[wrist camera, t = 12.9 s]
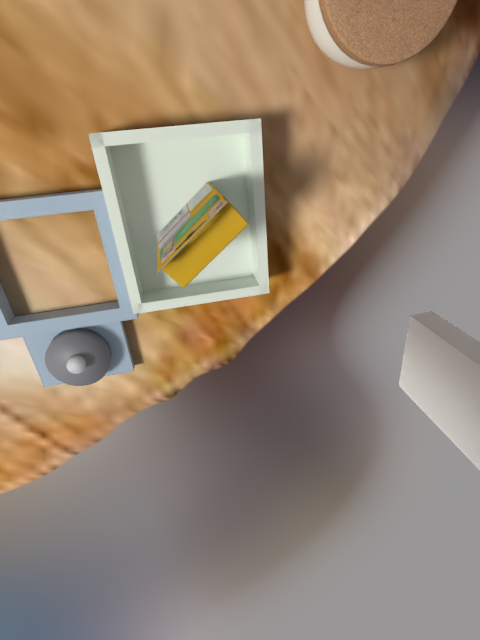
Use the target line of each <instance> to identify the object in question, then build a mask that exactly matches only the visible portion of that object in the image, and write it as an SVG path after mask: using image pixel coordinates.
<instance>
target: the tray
mask: <svg viewBox="0 0 480 640" xmlns="http://www.w3.org/2000/svg"><path fill="white" fill-rule="evenodd" d="M89 138H90V142H91V146H92V150H93V154H94V158H95V162H96V166H97V170H98V174H99V178H100V182H101V186H102V190H103V194H104V198H105V203H106V207H107V211H108V215H109V219H110V223H111V227H112V231H113V235H114V239H115V243H116V247H117V251H118V255H119V259H120V263H121V267H122V271H123V275H124V279H125V283H126V287H127V291H128V295H129V299H130V303H131V307H132V311H133V314H138V313H144V312H151V311H157V310H164V309H170V308H177V307H183V306H189V305H196V304H202V303H209V302H215V301H222V300H228V299H234V298H241V297H247V296H254V295H260V294H267V293H269V276H268V255H267V233H266V212H265V191H264V170H263V149H262V127H261V118H258V119H247V120H236V121H225V122H213V123H202V124H191V125H180V126H168V127H157V128H146V129H135V130H123V131H112V132H101V133H89ZM207 182H209V183H211V184H212V185H213V186H214V187H215V188H216V189H217V190H218V191H219V192H220V193H221V194H222V195H223V196H224V197H225V198H226V199H227V200H228V201H229V202H230V203H231V204H232V205H233V206H234V207H235V209H236V210H237V211H238V212H239V213H240V214H241V215H242V216H243V218H244V219H245V220H246V221H247V222H248V225H247V226H246V227H245V228H244V230H242V231H241V233H239V234H238V235H237V237H236V238H235V239H234V240H233V241H232V242H231V243H230V244H229V245H228V246H227V247H226V248H225V249H224V250H222V251H221V252H220V253H219V255H217V256H216V257H215V258H214V259H213V260H212V261H211V262H210V263H209V264H208V265H207V266H206V267H205V268H204V269H203V270H202V271H201V272H200V273H199V274H198V275H197V276H196V277H195V278H194V279H193V280H192V281H191V282H190V283H189V284H188V285H187V286H186V287H184V288H182V287H181V286H180V285H179V284H178V283H177V282H176V281H174V280H173V279H172V278H171V277H170V276H169V275H167V274H166V273H165V272H164V271H163V270H161V271H160V272H159V273H158V274H157V265H158V263H157V262H158V261H157V234H158V233H159V232H160V231H161V230H162V229H163V227H164V226H165V225H166V224H167V223H168V222H169V221H170V220H171V219H172V218H173V217H174V216H175V215H176V214H177V213H178V212H179V211H180V210H181V209H182V208H183V207H184V206H185V205H186V204H187V203H188V202H189V201H190V200H191V199H192V197H193V196H194V195H195V194H196V193H197V192H198V191H199V190H200V189H201V188H202V187H203V186H204V185H205V184H206V183H207Z"/></svg>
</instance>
